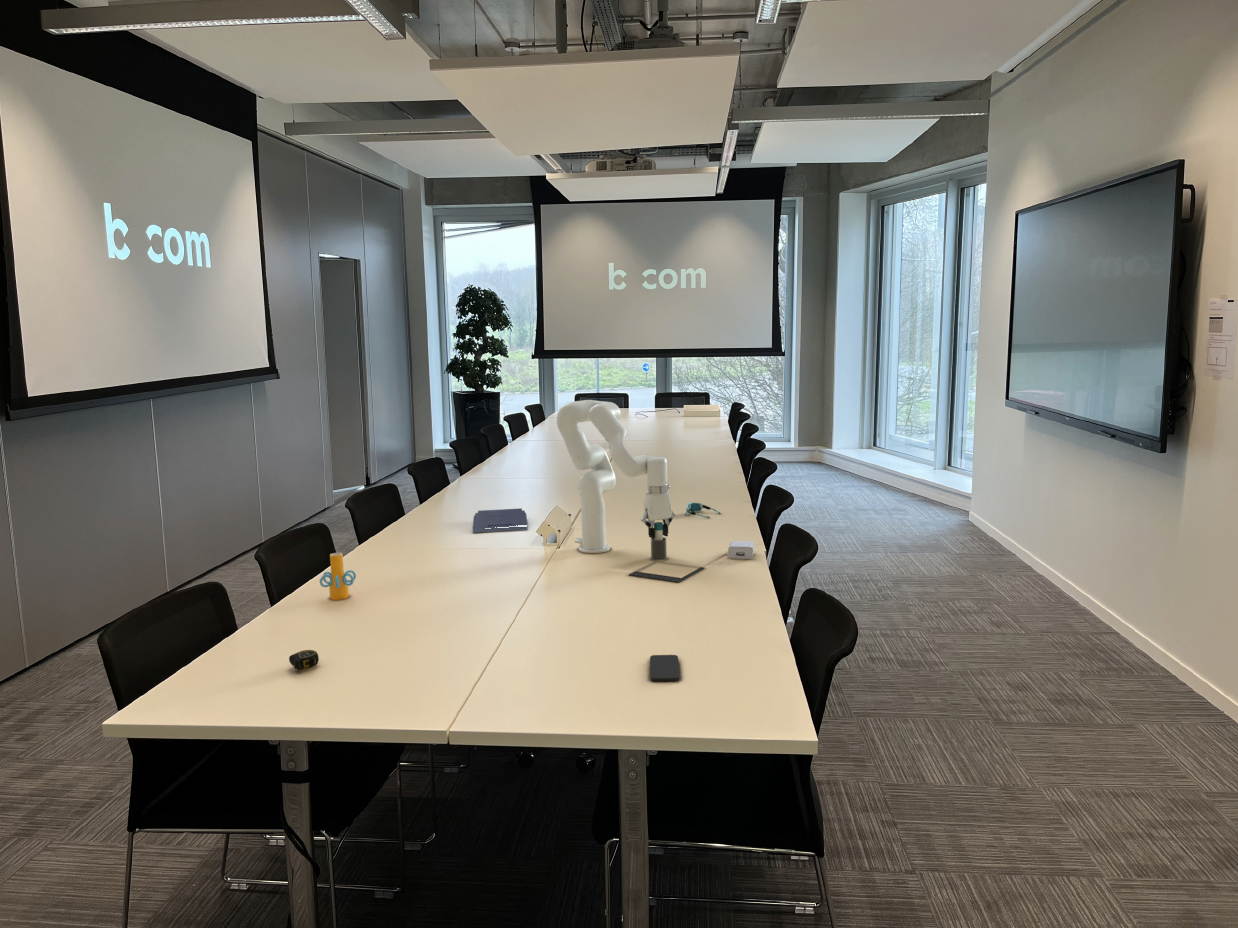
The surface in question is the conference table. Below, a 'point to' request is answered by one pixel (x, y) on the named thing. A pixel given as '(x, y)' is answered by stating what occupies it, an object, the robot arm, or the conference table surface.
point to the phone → (664, 668)
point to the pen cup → (658, 549)
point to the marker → (658, 530)
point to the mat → (664, 578)
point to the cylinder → (338, 578)
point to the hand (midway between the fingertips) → (658, 536)
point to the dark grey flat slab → (499, 520)
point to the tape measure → (304, 659)
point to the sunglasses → (697, 508)
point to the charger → (741, 550)
